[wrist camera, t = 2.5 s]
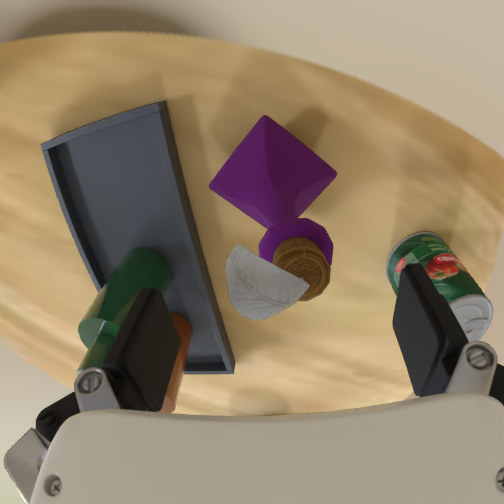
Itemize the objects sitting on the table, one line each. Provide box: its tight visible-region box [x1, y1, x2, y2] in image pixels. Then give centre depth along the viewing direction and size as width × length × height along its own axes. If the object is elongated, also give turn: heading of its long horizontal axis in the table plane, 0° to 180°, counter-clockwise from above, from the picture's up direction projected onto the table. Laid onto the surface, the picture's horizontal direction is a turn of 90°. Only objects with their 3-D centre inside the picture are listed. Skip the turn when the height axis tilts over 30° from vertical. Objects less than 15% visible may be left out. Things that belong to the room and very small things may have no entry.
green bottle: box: [77, 247, 172, 375], centre depth 26 cm, size 6×6×15 cm
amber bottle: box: [158, 312, 194, 413], centre depth 31 cm, size 6×6×15 cm
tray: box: [41, 101, 235, 374], centre depth 32 cm, size 34×14×2 cm, turn 9°
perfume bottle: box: [209, 115, 337, 320], centre depth 19 cm, size 8×8×18 cm
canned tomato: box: [386, 232, 493, 342], centre depth 26 cm, size 8×8×11 cm
